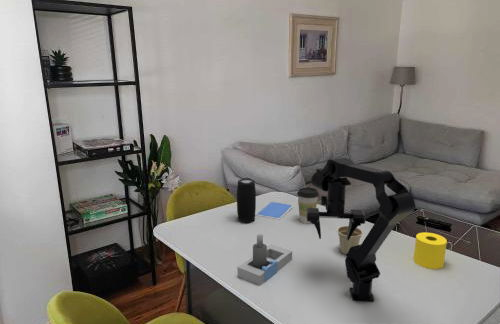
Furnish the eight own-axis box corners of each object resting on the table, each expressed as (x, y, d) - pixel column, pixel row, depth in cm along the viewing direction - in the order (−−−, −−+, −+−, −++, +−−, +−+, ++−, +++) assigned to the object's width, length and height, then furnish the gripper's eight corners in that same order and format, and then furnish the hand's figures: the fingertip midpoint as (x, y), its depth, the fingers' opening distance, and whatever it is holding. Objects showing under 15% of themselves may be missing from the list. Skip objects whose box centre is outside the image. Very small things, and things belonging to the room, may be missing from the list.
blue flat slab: (279, 221, 176) (279, 218, 176) (255, 216, 182) (255, 213, 181) (293, 207, 193) (293, 205, 193) (271, 203, 199) (271, 201, 198)
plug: (267, 275, 130) (268, 238, 126) (253, 276, 129) (253, 239, 126) (265, 268, 134) (265, 232, 131) (251, 269, 134) (252, 233, 130)
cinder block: (292, 259, 140) (293, 248, 139) (260, 285, 124) (260, 273, 123) (271, 252, 146) (271, 241, 145) (237, 276, 129) (237, 264, 128)
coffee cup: (292, 219, 177) (293, 188, 174) (309, 215, 181) (311, 185, 178) (303, 226, 169) (304, 195, 165) (321, 223, 173) (323, 192, 169)
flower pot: (362, 258, 141) (363, 237, 139) (336, 256, 143) (337, 235, 141) (360, 247, 150) (361, 226, 148) (335, 244, 152) (337, 225, 150)
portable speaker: (236, 224, 172) (236, 183, 167) (237, 216, 181) (237, 177, 176) (255, 224, 171) (255, 183, 167) (255, 216, 181) (255, 177, 176)
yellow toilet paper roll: (437, 255, 143) (440, 232, 141) (448, 269, 133) (451, 245, 131) (409, 254, 144) (412, 232, 142) (418, 268, 134) (421, 244, 132)
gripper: (361, 188, 131) (358, 230, 134) (306, 186, 133) (305, 228, 136) (367, 199, 120) (363, 244, 124) (308, 197, 122) (306, 241, 126)
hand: (333, 239), depth 128 cm, fingers open, 9 cm apart
